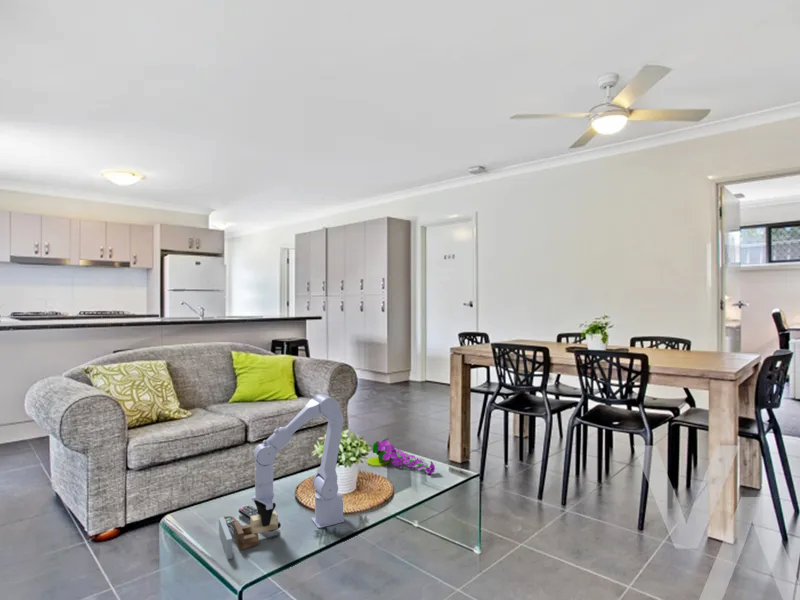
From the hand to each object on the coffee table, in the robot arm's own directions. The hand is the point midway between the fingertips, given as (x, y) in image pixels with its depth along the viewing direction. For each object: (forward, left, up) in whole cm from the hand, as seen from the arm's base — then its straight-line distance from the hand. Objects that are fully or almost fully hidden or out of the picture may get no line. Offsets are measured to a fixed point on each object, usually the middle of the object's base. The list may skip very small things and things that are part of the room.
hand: (264, 522), depth 154 cm
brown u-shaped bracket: (+6, 0, -5) cm, 8 cm away
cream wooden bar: (0, 0, -2) cm, 2 cm away
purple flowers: (-71, -33, -5) cm, 79 cm away
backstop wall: (+12, 0, -5) cm, 13 cm away
